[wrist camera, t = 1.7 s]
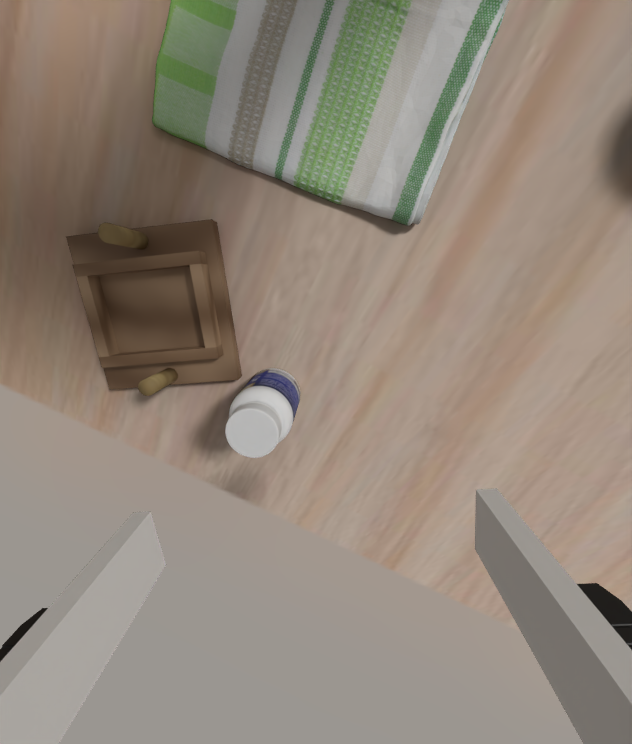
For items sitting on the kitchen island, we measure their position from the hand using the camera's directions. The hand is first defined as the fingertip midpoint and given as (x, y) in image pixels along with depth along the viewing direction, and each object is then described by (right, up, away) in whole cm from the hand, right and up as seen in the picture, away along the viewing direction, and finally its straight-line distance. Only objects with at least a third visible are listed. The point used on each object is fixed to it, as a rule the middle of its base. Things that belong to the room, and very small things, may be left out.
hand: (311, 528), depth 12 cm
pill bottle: (-4, +4, +19) cm, 20 cm away
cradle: (-14, +12, +17) cm, 25 cm away
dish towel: (+1, +30, +12) cm, 32 cm away
